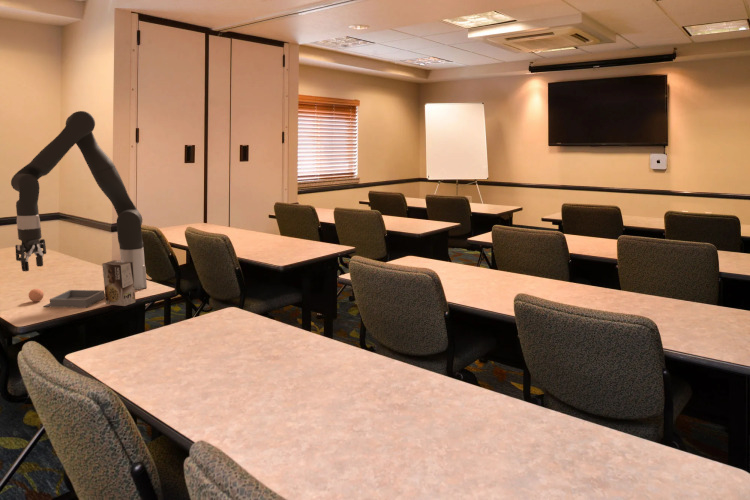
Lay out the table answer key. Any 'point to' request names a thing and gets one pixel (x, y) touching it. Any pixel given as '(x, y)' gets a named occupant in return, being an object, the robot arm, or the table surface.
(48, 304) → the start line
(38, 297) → the ball
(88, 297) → the bin
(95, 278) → the table surface
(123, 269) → the coffee box
